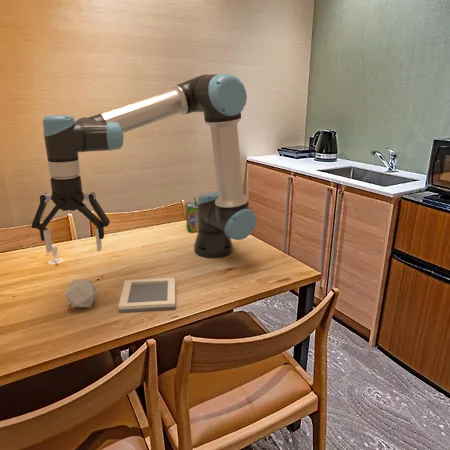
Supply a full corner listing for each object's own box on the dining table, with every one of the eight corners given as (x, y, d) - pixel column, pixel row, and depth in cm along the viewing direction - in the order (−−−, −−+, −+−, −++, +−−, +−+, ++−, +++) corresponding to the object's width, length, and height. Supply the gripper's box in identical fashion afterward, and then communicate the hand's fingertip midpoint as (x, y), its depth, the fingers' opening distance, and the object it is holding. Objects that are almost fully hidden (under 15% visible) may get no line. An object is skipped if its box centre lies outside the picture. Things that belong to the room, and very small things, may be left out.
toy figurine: (62, 257, 147) (59, 238, 144) (66, 265, 140) (63, 246, 138) (46, 260, 144) (43, 241, 142) (50, 268, 138) (47, 249, 135)
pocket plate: (175, 283, 128) (175, 277, 127) (175, 309, 113) (175, 303, 112) (125, 285, 126) (124, 280, 125) (118, 312, 111) (118, 306, 111)
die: (80, 318, 110) (98, 289, 110) (54, 302, 110) (72, 273, 110) (90, 312, 118) (107, 285, 118) (65, 297, 118) (82, 270, 118)
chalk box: (209, 231, 173) (208, 199, 168) (188, 233, 171) (187, 200, 166) (205, 224, 181) (205, 193, 176) (186, 225, 180) (185, 194, 175)
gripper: (115, 172, 108) (121, 243, 115) (20, 173, 105) (33, 246, 112) (111, 178, 101) (118, 254, 108) (9, 179, 98) (23, 257, 105)
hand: (74, 250), depth 110 cm, fingers open, 13 cm apart
